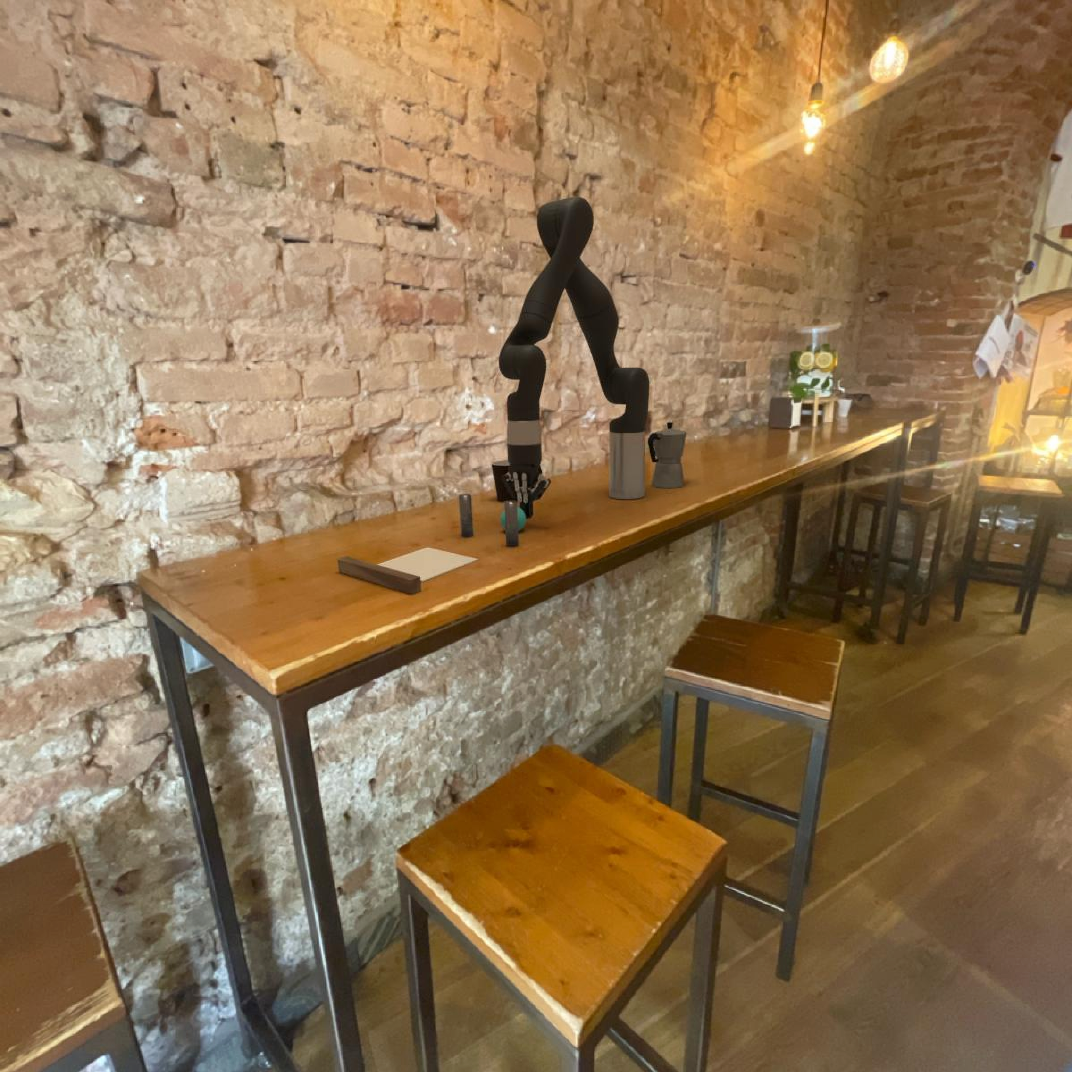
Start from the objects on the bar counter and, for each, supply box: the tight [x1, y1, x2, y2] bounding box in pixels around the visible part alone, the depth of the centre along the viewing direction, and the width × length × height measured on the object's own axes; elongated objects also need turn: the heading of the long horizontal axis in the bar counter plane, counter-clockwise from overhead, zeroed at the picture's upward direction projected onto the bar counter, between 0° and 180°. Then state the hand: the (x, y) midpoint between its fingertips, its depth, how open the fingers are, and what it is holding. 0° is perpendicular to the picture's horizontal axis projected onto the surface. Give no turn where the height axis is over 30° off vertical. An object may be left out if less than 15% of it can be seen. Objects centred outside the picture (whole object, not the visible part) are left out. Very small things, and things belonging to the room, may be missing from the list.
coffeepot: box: [647, 421, 688, 490], centre depth 173 cm, size 15×9×18 cm, turn 129°
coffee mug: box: [491, 459, 518, 503], centre depth 164 cm, size 12×9×10 cm
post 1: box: [458, 493, 474, 538], centre depth 132 cm, size 3×3×9 cm
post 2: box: [503, 500, 520, 548], centre depth 124 cm, size 3×3×9 cm
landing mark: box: [376, 547, 479, 583], centre depth 116 cm, size 14×14×1 cm
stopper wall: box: [337, 555, 422, 595], centre depth 107 cm, size 2×20×2 cm, turn 52°
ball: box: [500, 506, 527, 532], centre depth 134 cm, size 6×6×6 cm
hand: (526, 518), depth 138 cm, fingers closed
